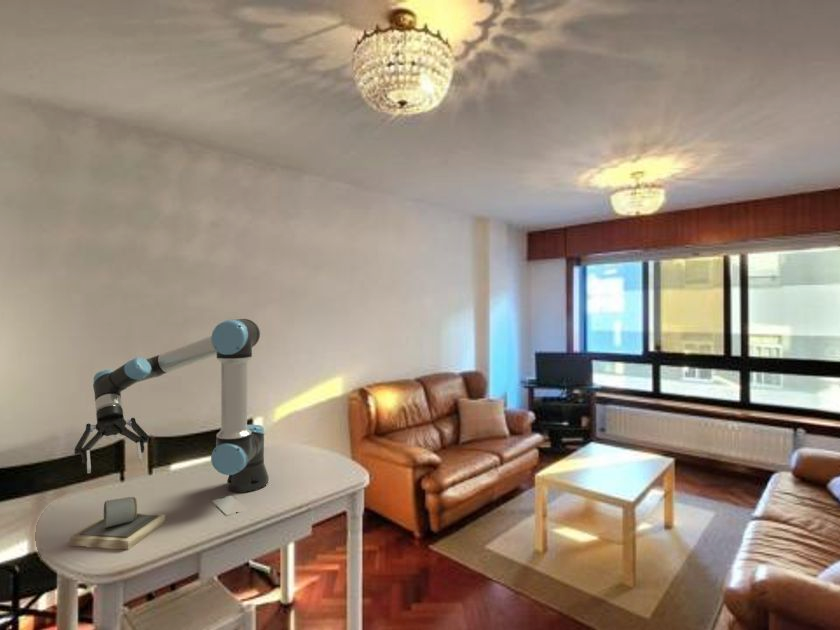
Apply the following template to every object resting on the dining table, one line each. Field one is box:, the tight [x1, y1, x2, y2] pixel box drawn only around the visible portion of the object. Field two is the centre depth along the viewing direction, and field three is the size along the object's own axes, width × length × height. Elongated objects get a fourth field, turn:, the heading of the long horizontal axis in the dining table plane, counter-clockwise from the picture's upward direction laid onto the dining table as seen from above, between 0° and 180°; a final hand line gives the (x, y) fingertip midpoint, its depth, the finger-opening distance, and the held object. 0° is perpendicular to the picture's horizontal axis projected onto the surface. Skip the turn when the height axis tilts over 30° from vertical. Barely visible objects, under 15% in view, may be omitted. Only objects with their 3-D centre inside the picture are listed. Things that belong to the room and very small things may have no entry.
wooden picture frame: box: [69, 512, 166, 551], centre depth 137 cm, size 18×16×3 cm
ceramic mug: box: [103, 496, 138, 528], centre depth 139 cm, size 11×8×8 cm
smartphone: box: [211, 494, 238, 516], centre depth 157 cm, size 7×1×15 cm
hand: (115, 466), depth 144 cm, fingers open, 13 cm apart
